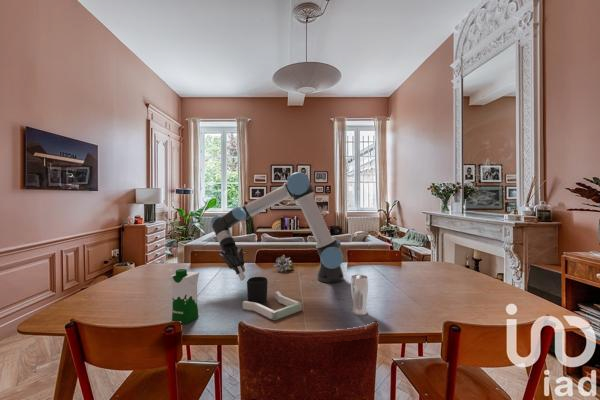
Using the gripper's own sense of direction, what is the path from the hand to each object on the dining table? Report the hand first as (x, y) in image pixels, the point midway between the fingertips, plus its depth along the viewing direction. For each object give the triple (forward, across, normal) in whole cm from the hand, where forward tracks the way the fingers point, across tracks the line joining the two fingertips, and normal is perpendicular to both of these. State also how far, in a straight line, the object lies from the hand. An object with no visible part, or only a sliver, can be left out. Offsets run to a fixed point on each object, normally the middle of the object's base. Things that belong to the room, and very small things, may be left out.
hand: (243, 278), depth 143 cm
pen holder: (+14, -1, +2) cm, 14 cm away
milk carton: (+12, +32, 0) cm, 34 cm away
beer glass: (+42, -24, +31) cm, 57 cm away
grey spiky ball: (-11, -46, -22) cm, 52 cm away
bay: (+22, -1, +11) cm, 25 cm away
